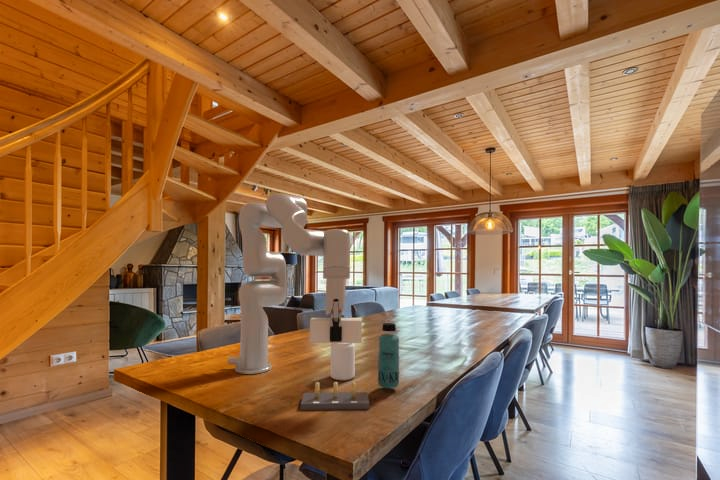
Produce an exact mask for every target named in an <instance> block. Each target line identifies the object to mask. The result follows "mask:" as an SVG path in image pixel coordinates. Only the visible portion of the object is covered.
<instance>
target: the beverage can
mask: <svg viewBox="0 0 720 480" xmlns="http://www.w3.org/2000/svg"><path fill="white" fill-rule="evenodd" d="M355 344H356V343H330V378H332V379H333V380H336V381H342V382H343V381H349V380H351V379H354V378H355V375H356V373H355V367H356V366H355V365H356V364H355V362H356V361H355V360H356V359H355V358H356V357H355V356H356V353H355V351H356V345H355Z"/></svg>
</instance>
